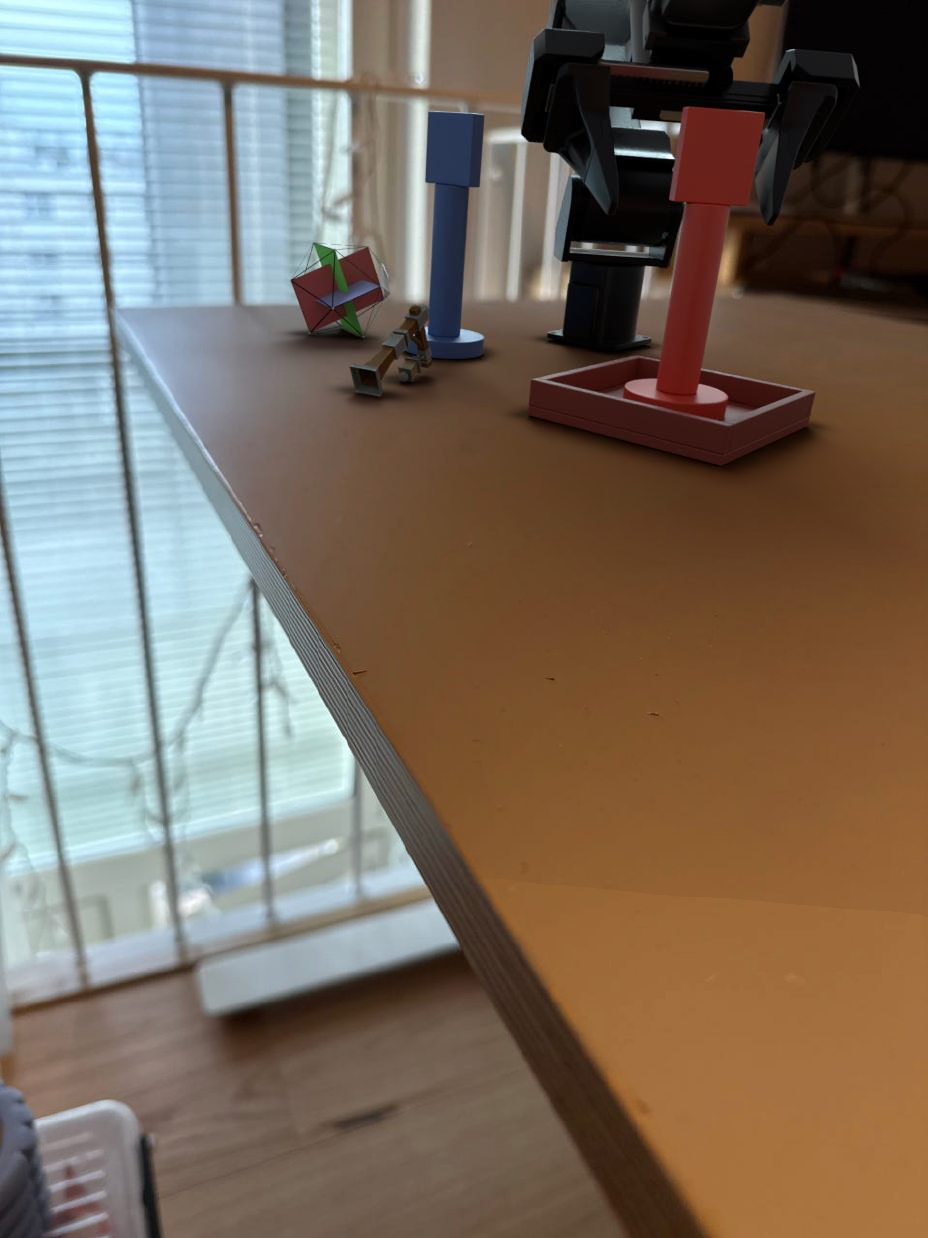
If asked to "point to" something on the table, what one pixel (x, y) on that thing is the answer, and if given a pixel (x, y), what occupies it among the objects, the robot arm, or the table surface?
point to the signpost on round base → (700, 251)
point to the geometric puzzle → (339, 289)
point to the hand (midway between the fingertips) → (693, 214)
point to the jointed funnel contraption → (396, 354)
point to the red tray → (602, 409)
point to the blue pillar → (451, 228)
